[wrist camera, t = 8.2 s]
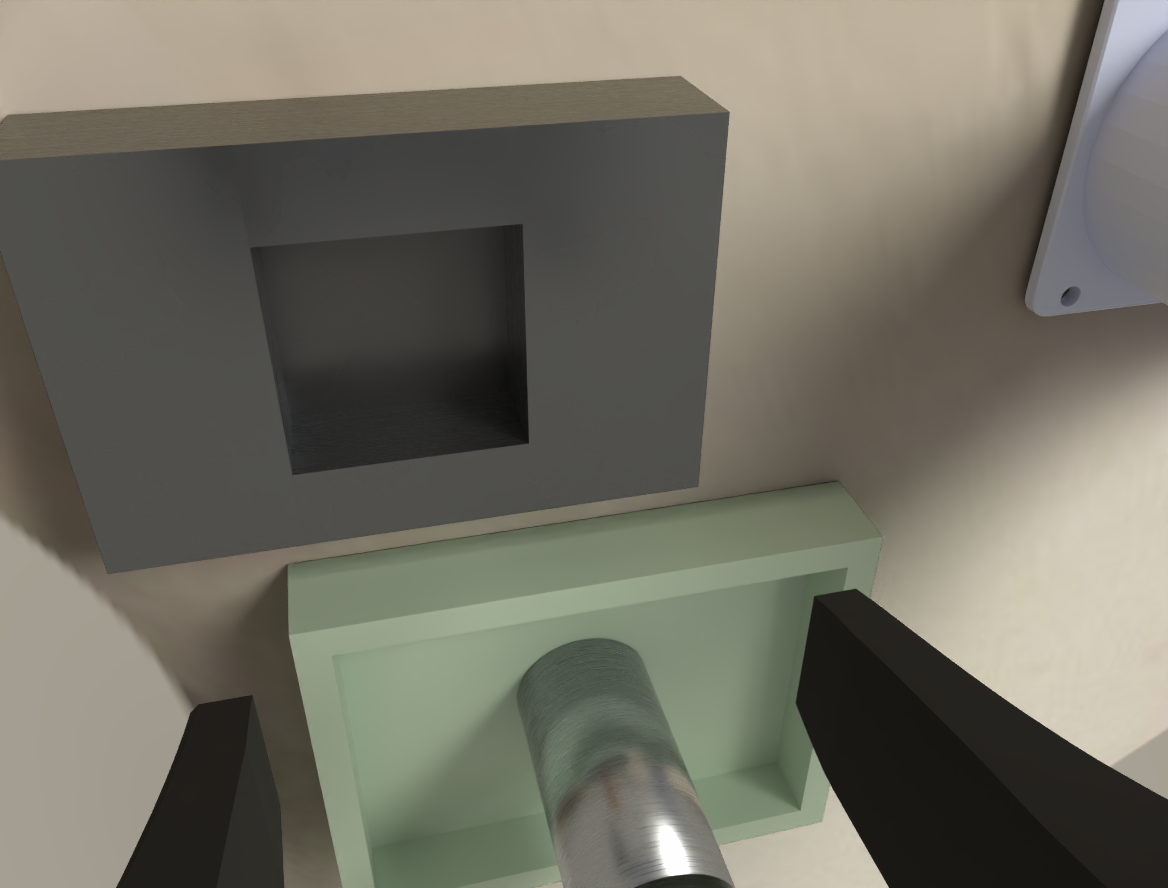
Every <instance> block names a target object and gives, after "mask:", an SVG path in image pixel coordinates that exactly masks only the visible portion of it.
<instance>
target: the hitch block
mask: <svg viewBox="0 0 1168 888" xmlns="http://www.w3.org/2000/svg"><path fill="white" fill-rule="evenodd" d="M729 113H730V112H729V111H728V110H726V109H725V108H723V107H722V106H721V105H719V104H718V103H717V102H715V101H714V100H713V99H711V98H710V97H709V96H707V95H706V94H704V93H703V92H702V91H700V90H699V89H698V88H696V87H695V86H694V85H692V84H691V83H690V82H688V81H687V80H685V79H684V78H683V77H681V76H674V77H657V78H640V79H622V80H605V81H588V82H570V83H553V84H536V85H518V86H501V87H484V88H466V89H449V90H432V91H414V92H397V93H380V94H362V95H345V96H328V97H310V98H293V99H276V100H258V101H241V102H224V103H206V104H189V105H172V106H155V107H137V108H120V109H103V110H85V111H68V112H51V113H33V114H16V115H8V116H7V117H6V118H5V120H4V121H3V122H2V123H1V125H0V252H1V255H2V258H3V261H4V264H5V267H6V270H7V273H8V276H9V279H10V282H11V285H12V288H13V291H14V294H15V297H16V300H17V303H18V306H19V309H20V312H21V316H22V319H23V322H24V325H25V328H26V331H27V334H28V337H29V340H30V343H31V346H32V349H33V352H34V355H35V358H36V361H37V364H38V367H39V370H40V373H41V376H42V379H43V382H44V385H45V388H46V391H47V394H48V397H49V400H50V403H51V406H52V409H53V412H54V415H55V418H56V421H57V424H58V427H59V430H60V433H61V436H62V439H63V442H64V445H65V448H66V451H67V454H68V457H69V460H70V463H71V466H72V469H73V472H74V475H75V478H76V481H77V484H78V487H79V490H80V493H81V496H82V499H83V502H84V505H85V508H86V511H87V514H88V517H89V520H90V523H91V526H92V529H93V532H94V535H95V538H96V541H97V544H98V547H99V550H100V553H101V556H102V559H103V562H104V565H105V568H106V571H107V574H112V573H118V572H125V571H132V570H139V569H145V568H152V567H159V566H166V565H172V564H179V563H186V562H193V561H199V560H206V559H213V558H220V557H227V556H233V555H240V554H247V553H254V552H260V551H267V550H274V549H281V548H287V547H294V546H301V545H308V544H314V543H321V542H328V541H335V540H341V539H348V538H355V537H362V536H368V535H375V534H382V533H389V532H395V531H402V530H409V529H416V528H422V527H429V526H436V525H443V524H449V523H456V522H463V521H470V520H476V519H483V518H490V517H497V516H503V515H510V514H517V513H524V512H531V511H537V510H544V509H551V508H558V507H564V506H571V505H578V504H585V503H591V502H598V501H605V500H612V499H618V498H625V497H632V496H639V495H645V494H652V493H659V492H666V491H672V490H679V489H686V488H693V487H698V483H699V471H700V459H701V447H702V435H703V423H704V411H705V399H706V387H707V375H708V363H709V351H710V340H711V328H712V316H713V304H714V292H715V280H716V268H717V256H718V244H719V232H720V220H721V208H722V196H723V184H724V172H725V160H726V149H727V137H728V125H729Z"/></svg>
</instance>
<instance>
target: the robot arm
mask: <svg viewBox="0 0 1168 888" xmlns="http://www.w3.org/2000/svg"><path fill="white" fill-rule="evenodd" d="M1068 288H1070V289H1069V291H1068V293H1067V294H1066V295H1065V296H1064V297H1063V298H1061V297H1062V295H1063V293H1064V292H1065V291H1066V290H1067V289H1068ZM1025 303H1026V306H1027V308H1029V309H1030V310H1032V311H1033V312H1034V313H1036V314H1037V315H1039V316H1044V317H1047V316H1056V315H1064V314H1072V313H1081V312H1089V311H1097V310H1106V309H1114V308H1122V307H1131V306H1139V305H1147V304H1156V303H1164V304H1166V305H1168V0H1105V1H1104V5H1103V8H1102V12H1101V16H1100V20H1099V23H1098V27H1097V31H1096V34H1095V38H1094V42H1093V46H1092V49H1091V53H1090V57H1089V60H1088V64H1087V68H1086V72H1085V75H1084V79H1083V83H1082V86H1081V90H1080V94H1079V98H1078V101H1077V105H1076V109H1075V112H1074V116H1073V120H1072V124H1071V127H1070V131H1069V135H1068V138H1067V142H1066V146H1065V150H1064V153H1063V157H1062V161H1061V164H1060V168H1059V172H1058V176H1057V179H1056V183H1055V187H1054V190H1053V194H1052V198H1051V202H1050V205H1049V209H1048V213H1047V217H1046V220H1045V224H1044V228H1043V231H1042V235H1041V239H1040V243H1039V246H1038V250H1037V254H1036V257H1035V261H1034V265H1033V269H1032V272H1031V276H1030V280H1029V283H1028V287H1027V291H1026V295H1025ZM796 706H797V708H798V711H799V713H800V716H801V718H802V721H803V723H804V726H805V729H806V731H807V734H808V736H809V739H810V741H811V743H812V746H813V748H814V750H815V753H816V755H817V757H818V760H819V762H820V764H821V767H822V769H823V771H824V773H825V775H826V777H827V779H828V781H829V783H830V784H831V786H832V788H833V790H834V792H835V793H836V795H837V797H838V799H839V801H840V802H841V804H842V806H843V808H844V809H845V811H846V813H847V815H848V817H849V818H850V820H851V822H852V824H853V825H854V827H855V829H856V831H857V832H858V834H859V836H860V838H861V839H862V841H863V843H864V845H865V846H866V848H867V850H868V852H869V853H870V855H871V857H872V859H873V860H874V862H875V864H876V866H877V867H878V869H879V871H880V873H881V874H882V876H883V878H884V880H885V881H886V883H887V885H888V887H889V888H1168V799H1166V798H1164V797H1162V796H1160V795H1158V794H1156V793H1155V792H1153V791H1151V790H1149V789H1148V788H1146V787H1144V786H1142V785H1141V784H1139V783H1137V782H1135V781H1134V780H1132V779H1130V778H1128V777H1127V776H1125V775H1123V774H1121V773H1120V772H1118V771H1116V770H1114V769H1113V768H1111V767H1109V766H1107V765H1106V764H1104V763H1102V762H1100V761H1099V760H1097V759H1096V758H1094V757H1092V756H1091V755H1089V754H1087V753H1086V752H1084V751H1082V750H1081V749H1079V748H1078V747H1076V746H1074V745H1073V744H1071V743H1070V742H1068V741H1067V740H1065V739H1064V738H1062V737H1060V736H1059V735H1057V734H1056V733H1054V732H1053V731H1051V730H1050V729H1048V728H1047V727H1045V726H1044V725H1042V724H1041V723H1039V722H1038V721H1036V720H1034V719H1033V718H1031V717H1030V716H1028V715H1027V714H1025V713H1024V712H1023V711H1021V710H1020V709H1018V708H1017V707H1015V706H1014V705H1012V704H1011V703H1009V702H1008V701H1007V700H1005V699H1004V698H1002V697H1001V696H999V695H998V694H997V693H995V692H994V691H992V690H991V689H990V688H988V687H987V686H985V685H984V684H983V683H981V682H980V681H978V680H977V679H976V678H974V677H973V676H972V675H970V674H969V673H967V672H966V671H965V670H963V669H962V668H961V667H959V666H958V665H957V664H955V663H954V662H953V661H951V660H950V659H949V658H947V657H946V656H945V655H943V654H942V653H941V652H939V651H938V650H937V649H935V648H934V647H933V646H931V645H930V644H929V643H927V642H926V641H925V640H924V639H922V638H921V637H920V636H918V635H917V634H916V633H914V632H913V631H912V630H910V629H909V628H908V627H907V626H905V625H904V624H903V623H901V622H900V621H899V620H897V619H896V618H895V617H893V616H892V615H891V614H890V613H888V612H887V611H886V610H884V609H883V608H882V607H880V606H879V605H878V604H876V603H875V602H874V601H872V600H871V599H870V598H868V597H867V596H866V595H864V594H863V593H862V592H860V591H859V590H857V589H850V590H845V591H839V592H833V593H828V594H822V595H816V596H814V600H813V605H812V611H811V617H810V623H809V628H808V634H807V640H806V646H805V651H804V657H803V663H802V668H801V674H800V680H799V686H798V691H797V697H796ZM116 888H284V874H283V850H282V831H281V811H280V803H279V799H278V795H277V791H276V787H275V783H274V779H273V775H272V771H271V767H270V763H269V759H268V755H267V751H266V747H265V743H264V739H263V735H262V731H261V728H260V724H259V720H258V716H257V712H256V708H255V704H254V700H253V696H252V695H250V696H244V697H239V698H233V699H227V700H222V701H216V702H210V703H205V704H199V705H198V706H197V707H196V708H195V709H194V710H193V711H192V712H191V713H190V716H189V719H188V722H187V725H186V728H185V731H184V734H183V737H182V740H181V742H180V745H179V748H178V750H177V753H176V756H175V759H174V761H173V764H172V766H171V769H170V771H169V774H168V776H167V778H166V781H165V783H164V786H163V788H162V790H161V793H160V795H159V797H158V800H157V802H156V804H155V807H154V809H153V812H152V814H151V816H150V818H149V820H148V822H147V824H146V826H145V829H144V831H143V833H142V835H141V837H140V839H139V841H138V844H137V846H136V848H135V850H134V852H133V854H132V856H131V858H130V861H129V863H128V865H127V867H126V869H125V871H124V873H123V875H122V877H121V879H120V881H119V883H118V885H117V887H116Z"/></svg>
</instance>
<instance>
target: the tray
mask: <svg viewBox="0 0 1168 888" xmlns="http://www.w3.org/2000/svg"><path fill="white" fill-rule="evenodd" d="M882 540H883V536H882V535H881V533H880V532H879V531H878V530H877V528H876V527H875V526H874V525H873V523H872V522H871V521H870V520H869V518H868V517H867V516H866V515H865V513H864V512H863V511H862V510H861V508H860V507H859V506H858V505H857V503H856V502H855V501H854V500H853V498H852V497H851V496H850V495H849V493H848V492H847V491H846V490H845V488H844V487H843V486H842V485H841V483H840V482H839V481H835V482H829V483H822V484H816V485H809V486H802V487H796V488H789V489H783V490H776V491H769V492H763V493H756V494H750V495H743V496H736V497H730V498H723V499H717V500H710V501H703V502H697V503H690V504H684V505H677V506H670V507H664V508H657V509H651V510H644V511H637V512H631V513H624V514H618V515H611V516H604V517H598V518H591V519H585V520H578V521H571V522H565V523H558V524H552V525H545V526H538V527H532V528H525V529H518V530H512V531H505V532H499V533H492V534H485V535H479V536H472V537H466V538H459V539H452V540H446V541H439V542H433V543H426V544H419V545H413V546H406V547H400V548H393V549H386V550H380V551H373V552H367V553H360V554H353V555H347V556H340V557H334V558H327V559H320V560H314V561H307V562H301V563H294V564H288V623H289V639H290V644H291V649H292V653H293V658H294V663H295V667H296V672H297V677H298V682H299V686H300V691H301V696H302V700H303V705H304V710H305V714H306V719H307V724H308V728H309V733H310V738H311V743H312V747H313V752H314V757H315V761H316V766H317V771H318V775H319V780H320V785H321V790H322V794H323V799H324V804H325V808H326V813H327V818H328V822H329V827H330V832H331V836H332V841H333V846H334V851H335V855H336V860H337V865H338V869H339V874H340V879H341V883H342V888H534V887H538V886H542V885H547V884H551V883H556V882H560V881H562V879H561V875H560V871H559V867H558V863H557V859H556V855H555V851H554V847H553V844H552V840H551V836H550V832H549V828H548V824H547V820H546V816H545V812H544V808H543V804H542V800H541V796H540V792H539V788H538V784H537V780H536V776H535V772H534V768H533V764H532V760H531V756H530V752H529V748H528V744H527V740H526V736H525V732H524V728H523V724H522V720H521V716H520V712H519V708H518V704H517V692H518V688H519V685H520V682H521V680H522V678H523V677H524V675H525V674H526V672H527V671H528V669H529V668H530V667H531V666H532V665H533V664H534V663H535V662H536V661H537V660H539V659H540V658H541V657H542V656H544V655H545V654H547V653H548V652H550V651H552V650H554V649H555V648H558V647H560V646H562V645H565V644H567V643H570V642H574V641H578V640H583V639H590V638H605V639H612V640H616V641H619V642H622V643H624V644H627V645H628V646H630V647H631V648H633V649H634V650H635V651H636V652H637V653H638V654H639V655H640V656H641V658H642V660H643V662H644V664H645V667H646V669H647V672H648V674H649V677H650V679H651V681H652V684H653V686H654V689H655V691H656V694H657V696H658V699H659V701H660V704H661V706H662V709H663V711H664V714H665V716H666V719H667V721H668V723H669V726H670V728H671V731H672V733H673V736H674V738H675V741H676V743H677V746H678V748H679V751H680V753H681V756H682V758H683V760H684V763H685V765H686V768H687V770H688V773H689V775H690V778H691V780H692V783H693V785H694V788H695V790H696V793H697V795H698V798H699V800H700V802H701V805H702V807H703V810H704V812H705V815H706V817H707V820H708V822H709V825H710V827H711V830H712V832H713V835H714V837H715V840H716V842H717V844H718V845H722V844H727V843H731V842H736V841H740V840H744V839H749V838H753V837H758V836H762V835H766V834H771V833H775V832H780V831H784V830H788V829H793V828H797V827H802V826H806V825H810V824H815V823H819V822H822V819H823V814H824V809H825V805H826V800H827V795H828V791H829V786H830V783H829V781H828V779H827V777H826V775H825V773H824V771H823V769H822V767H821V764H820V762H819V760H818V757H817V755H816V753H815V750H814V748H813V746H812V743H811V741H810V739H809V736H808V734H807V731H806V729H805V726H804V723H803V721H802V718H801V716H800V713H799V711H798V708H797V706H796V697H797V691H798V686H799V680H800V674H801V668H802V663H803V657H804V651H805V646H806V640H807V634H808V628H809V623H810V617H811V611H812V605H813V600H814V596H816V595H822V594H828V593H833V592H839V591H845V590H850V589H857V590H859V591H860V592H862V593H863V594H864V595H866V596H867V597H868V598H870V596H871V591H872V586H873V582H874V577H875V573H876V568H877V563H878V559H879V554H880V549H881V545H882Z"/></svg>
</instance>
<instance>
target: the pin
mask: <svg viewBox="0 0 1168 888" xmlns="http://www.w3.org/2000/svg"><path fill="white" fill-rule="evenodd" d="M517 704H518V708H519V712H520V716H521V720H522V724H523V728H524V732H525V736H526V740H527V744H528V748H529V752H530V756H531V760H532V764H533V768H534V772H535V776H536V780H537V784H538V788H539V792H540V796H541V800H542V804H543V808H544V812H545V816H546V820H547V824H548V828H549V832H550V836H551V840H552V844H553V847H554V851H555V855H556V859H557V863H558V867H559V871H560V875H561V879H562V883H563V887H564V888H735V886H734V884H733V881H732V879H731V877H730V874H729V872H728V869H727V867H726V864H725V862H724V859H723V857H722V854H721V852H720V849H719V847H718V844H717V842H716V840H715V837H714V835H713V832H712V830H711V827H710V825H709V822H708V820H707V817H706V815H705V812H704V810H703V807H702V805H701V802H700V800H699V798H698V795H697V793H696V790H695V788H694V785H693V783H692V780H691V778H690V775H689V773H688V770H687V768H686V765H685V763H684V760H683V758H682V756H681V753H680V751H679V748H678V746H677V743H676V741H675V738H674V736H673V733H672V731H671V728H670V726H669V723H668V721H667V719H666V716H665V714H664V711H663V709H662V706H661V704H660V701H659V699H658V696H657V694H656V691H655V689H654V686H653V684H652V681H651V679H650V677H649V674H648V672H647V669H646V667H645V664H644V662H643V660H642V658H641V656H640V655H639V654H638V653H637V652H636V651H635V650H634V649H633V648H631V647H630V646H628V645H627V644H624V643H622V642H619V641H616V640H612V639H605V638H590V639H583V640H578V641H574V642H570V643H567V644H565V645H562V646H560V647H558V648H555V649H554V650H552V651H550V652H548V653H547V654H545V655H544V656H542V657H541V658H540V659H539V660H537V661H536V662H535V663H534V664H533V665H532V666H531V667H530V668H529V669H528V671H527V672H526V674H525V675H524V677H523V678H522V680H521V682H520V685H519V688H518V692H517Z"/></svg>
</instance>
